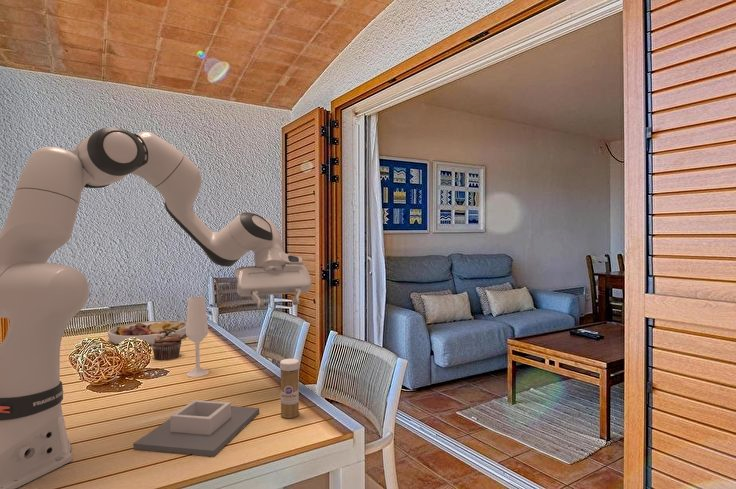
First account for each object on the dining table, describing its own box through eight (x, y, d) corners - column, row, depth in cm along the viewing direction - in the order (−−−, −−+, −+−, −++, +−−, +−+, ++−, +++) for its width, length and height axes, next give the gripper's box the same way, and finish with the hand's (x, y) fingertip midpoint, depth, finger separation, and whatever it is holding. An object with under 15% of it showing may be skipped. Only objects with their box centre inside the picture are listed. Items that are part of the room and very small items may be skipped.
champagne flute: (186, 371, 146) (185, 296, 145) (208, 369, 148) (207, 295, 147) (186, 377, 140) (184, 299, 139) (209, 375, 142) (208, 298, 141)
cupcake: (177, 352, 169) (176, 325, 169) (184, 357, 162) (184, 329, 161) (149, 356, 163) (148, 328, 163) (155, 362, 156) (154, 333, 155)
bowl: (123, 333, 202) (122, 315, 202) (194, 330, 208) (193, 312, 207) (95, 350, 173) (95, 330, 173) (179, 346, 178) (179, 326, 178)
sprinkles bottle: (281, 420, 108) (281, 364, 108) (279, 412, 113) (279, 358, 112) (300, 417, 110) (300, 362, 109) (298, 410, 114) (297, 357, 114)
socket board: (213, 456, 91) (213, 433, 91) (133, 449, 94) (132, 426, 94) (259, 412, 113) (259, 394, 113) (192, 408, 116) (192, 389, 116)
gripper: (234, 259, 124) (239, 300, 116) (307, 257, 132) (317, 295, 124) (232, 274, 129) (237, 314, 120) (303, 271, 137) (312, 309, 128)
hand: (278, 305), depth 122 cm, fingers open, 8 cm apart
